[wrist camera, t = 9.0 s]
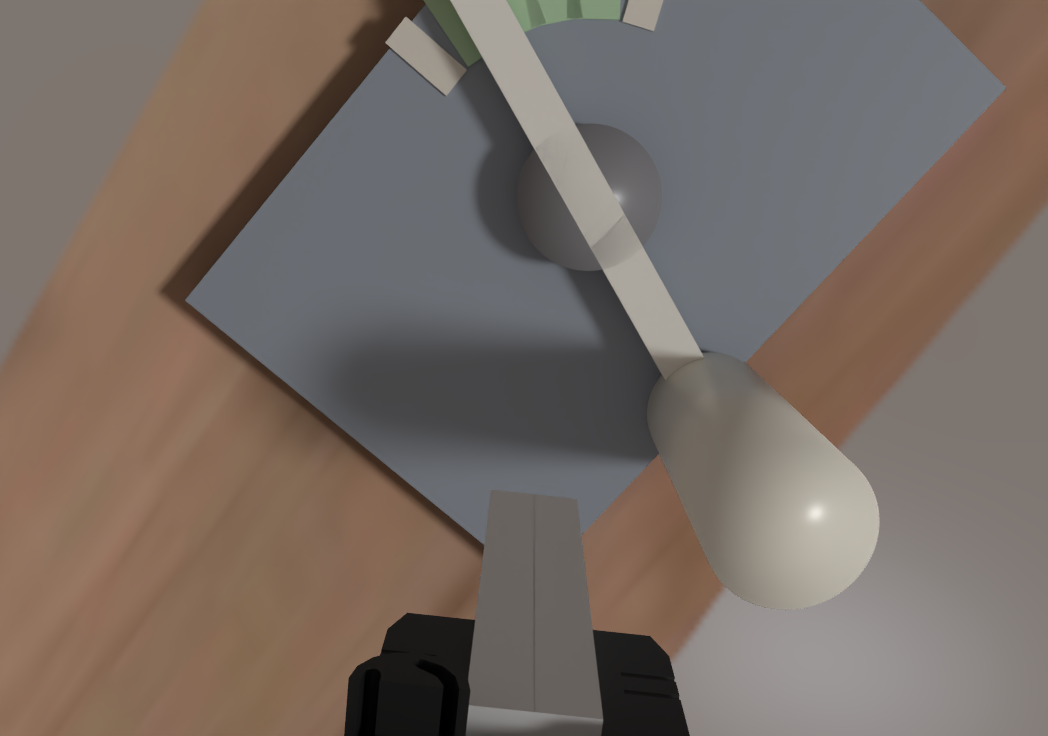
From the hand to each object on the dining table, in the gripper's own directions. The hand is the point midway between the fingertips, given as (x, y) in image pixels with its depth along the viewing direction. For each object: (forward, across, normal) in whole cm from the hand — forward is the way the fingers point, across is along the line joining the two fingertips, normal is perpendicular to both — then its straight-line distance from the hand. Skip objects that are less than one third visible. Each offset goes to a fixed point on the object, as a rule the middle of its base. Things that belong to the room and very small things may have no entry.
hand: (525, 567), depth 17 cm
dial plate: (+17, +1, +6) cm, 18 cm away
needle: (+15, +2, +5) cm, 16 cm away
